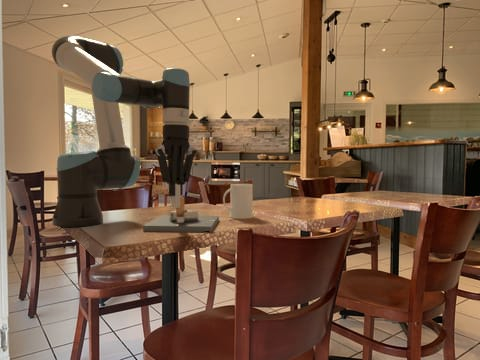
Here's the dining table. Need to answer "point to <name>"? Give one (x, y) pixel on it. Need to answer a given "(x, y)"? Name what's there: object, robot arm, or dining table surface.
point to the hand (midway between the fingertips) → (175, 207)
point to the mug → (240, 201)
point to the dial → (183, 213)
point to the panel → (181, 224)
